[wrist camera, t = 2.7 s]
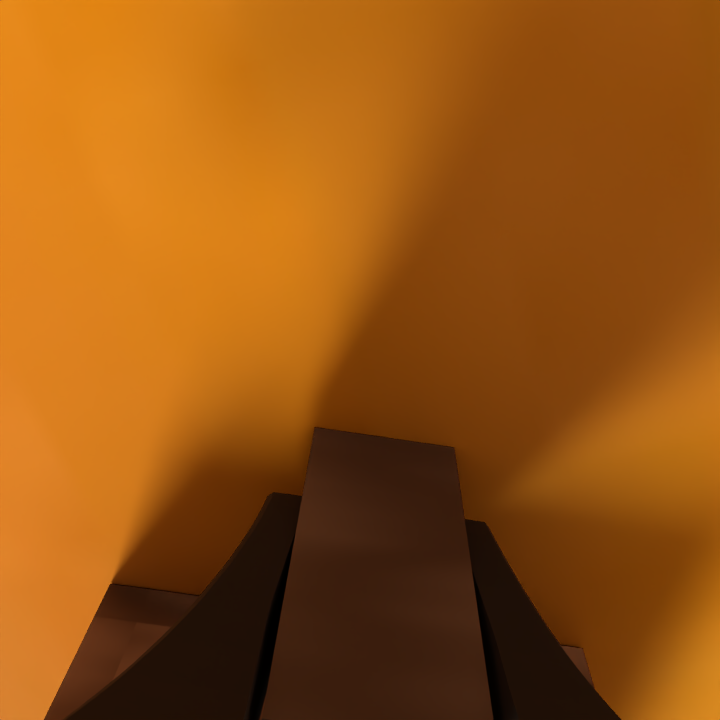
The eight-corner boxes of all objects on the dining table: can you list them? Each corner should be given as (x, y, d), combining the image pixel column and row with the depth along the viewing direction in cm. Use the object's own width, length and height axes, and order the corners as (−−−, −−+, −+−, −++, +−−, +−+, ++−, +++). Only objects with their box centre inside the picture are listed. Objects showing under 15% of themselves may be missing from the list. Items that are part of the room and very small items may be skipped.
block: (454, 447, 14) (497, 749, 8) (426, 550, 15) (448, 869, 10) (315, 427, 14) (262, 718, 8) (300, 533, 15) (246, 844, 10)
